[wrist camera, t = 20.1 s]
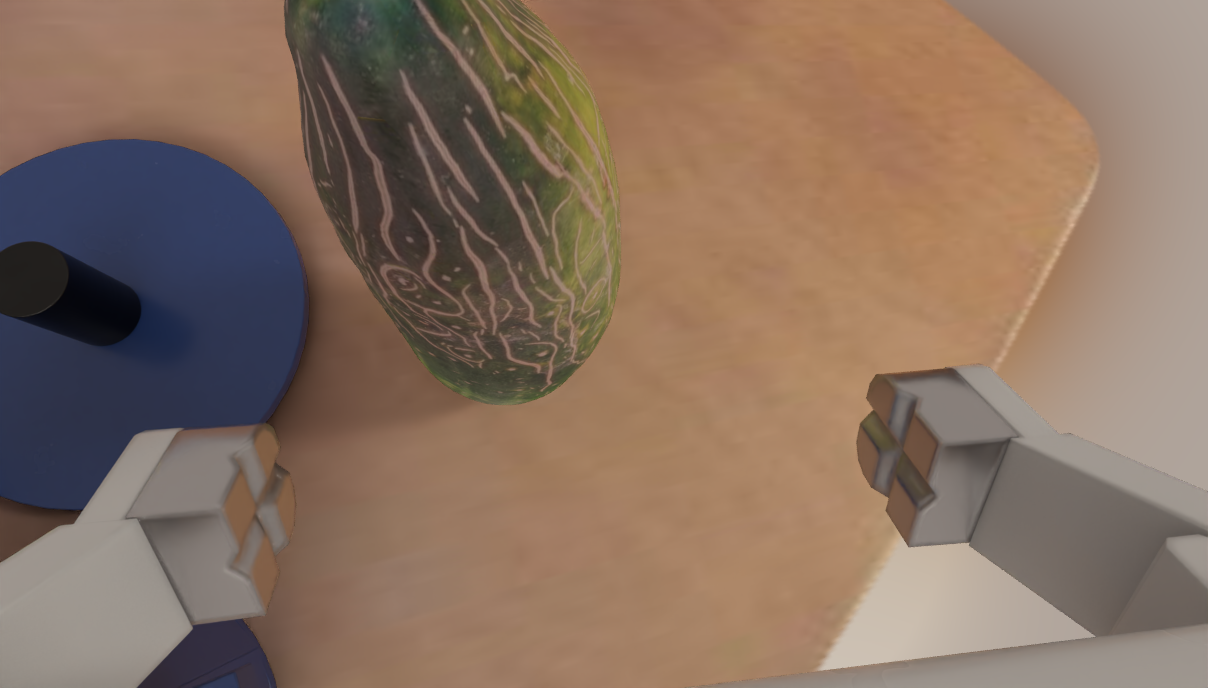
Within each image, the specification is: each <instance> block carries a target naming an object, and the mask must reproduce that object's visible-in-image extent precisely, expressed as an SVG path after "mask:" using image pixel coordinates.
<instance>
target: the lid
mask: <svg viewBox="0 0 1208 688" xmlns="http://www.w3.org/2000/svg"><path fill="white" fill-rule="evenodd" d="M308 322H309V292H308V284H307V275H306V272H305V268H304V264H303V260H302V257H301V253H300V251H299V249H298V246H297V244H296V242H295V239H294V237H293V235H292V233H291V231H290V230H289V228H288V226H287V225H286V223H285V222H284V220H283V218H282V217H281V215H280V214H279V213H278V212H277V210H276V209H275V208H274V207H273V206H272V204H271V203H270V202H269V201H268V199H267V198H266V197H265V196H264V195H263V194H262V193H261V192H260V191H259V190H258V189H257V188H256V187H254V186H253V185H252V184H251V183H250V182H249V181H248V180H247V179H246V178H244V177H243V176H241V175H240V174H238V173H237V172H235V171H234V170H233V169H231V168H230V167H228V166H227V165H225V164H223V163H221V162H219V161H217V160H215V159H213V158H211V157H209V156H207V155H205V154H202V153H199V152H196V151H193V150H190V149H188V148H185V147H181V146H177V145H172V144H167V143H163V142H157V141H147V140H137V139H121V140H103V141H95V142H87V143H82V144H78V145H74V146H69V147H65V148H61V149H58V150H55V151H52V152H49V153H47V154H44V155H41V156H38V157H35V158H33V159H31V160H29V161H27V162H25V163H23V164H21V165H19V166H17V167H14V168H12V169H10V170H9V171H7V172H6V173H4V174H2V175H1V176H0V496H1V497H4V498H6V499H9V500H12V501H15V502H18V503H21V504H26V505H31V506H36V507H41V508H46V509H59V510H74V511H78V510H83V509H84V508H85V506H86V505H87V504H88V502H89V501H90V499H91V498H92V496H93V495H94V493H95V492H96V490H97V489H98V488H99V486H100V485H101V483H102V482H103V480H104V479H105V477H106V476H107V474H108V473H109V472H110V470H111V469H112V467H113V466H114V464H115V463H116V461H117V460H118V458H119V457H120V455H121V454H122V453H123V451H124V450H125V448H126V447H127V445H128V444H129V442H130V441H131V439H132V438H133V437H134V436H135V435H136V434H139V433H141V432H143V431H145V430H157V429H170V428H186V427H198V426H215V425H232V424H249V423H265V422H267V420H268V419H269V418H270V417H271V415H272V414H273V413H274V411H275V410H276V408H277V406H278V405H279V403H280V402H281V400H282V398H283V397H284V395H285V394H286V392H287V390H288V388H289V386H290V383H291V381H292V379H293V377H294V375H295V373H296V370H297V368H298V365H299V362H300V358H301V355H302V352H303V349H304V345H305V340H306V334H307V328H308Z"/></svg>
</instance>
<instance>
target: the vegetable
mask: <svg viewBox="0 0 1208 688" xmlns="http://www.w3.org/2000/svg"><path fill="white" fill-rule="evenodd" d="M284 16H285V34H286V38H287V41H288V45H289V48H290V51H291V54H292V57H293V60H294V64H295V68H296V73H297V79H298V88H299V100H300V110H301V128H302V136H303V144H304V151H305V157H306V160H307V164H308V167H309V170H310V173H311V177H312V180H313V183H314V186H315V189H316V191H317V193H318V196H319V198H320V200H321V202H322V204H323V207H324V209H325V211H326V213H327V215H328V217H329V218H330V220H331V222H332V224H333V226H334V228H335V230H336V233H337V235H338V237H339V239H340V242H341V244H342V246H343V247H344V249H345V251H346V252H347V254H348V256H349V257H350V258H351V260H352V261H353V263H354V264H355V265H356V267H357V268H358V269H359V270H360V272H361V274H362V276H363V278H364V279H365V281H366V283H367V285H368V287H369V289H370V290H371V292H372V293H373V294H374V296H375V297H376V299H377V300H378V301H379V303H380V304H381V305H382V306H383V308H384V309H385V311H386V312H387V314H388V315H389V316H390V317H391V319H392V320H393V322H394V323H395V325H396V326H397V328H398V329H399V331H400V332H401V333H402V334H403V336H404V337H405V339H406V340H407V342H408V343H409V345H410V346H411V348H412V349H413V351H414V352H415V354H416V355H417V357H418V358H419V360H420V361H421V362H422V363H423V364H424V365H425V367H426V368H427V369H428V370H429V371H430V373H431V374H433V375H434V376H435V377H436V378H437V379H438V380H439V381H440V382H442V383H443V384H444V385H445V386H447V387H448V388H450V389H451V390H453V391H455V392H457V393H459V394H461V395H463V396H465V397H467V398H469V399H472V400H475V401H478V402H482V403H486V404H494V405H516V404H521V403H526V402H529V401H532V400H535V399H538V398H540V397H543V396H545V395H547V394H549V393H551V392H552V391H554V390H555V389H557V388H558V387H560V386H561V385H562V384H563V383H564V382H565V381H566V380H567V379H568V378H569V377H570V376H571V375H572V374H573V373H574V372H575V371H576V370H577V369H578V368H579V367H580V366H581V365H582V364H583V363H584V362H585V361H586V359H587V358H588V357H589V356H590V354H591V353H592V351H593V350H594V349H595V347H596V345H597V344H598V342H599V340H600V339H601V337H602V335H603V333H604V331H605V329H606V327H607V325H608V323H609V321H610V319H611V316H612V311H613V307H614V304H615V300H616V296H617V292H618V286H619V280H620V268H621V238H620V227H621V225H620V200H619V187H618V181H617V175H616V168H615V162H614V159H613V155H612V152H611V148H610V144H609V141H608V137H607V133H606V129H605V126H604V123H603V120H602V117H601V114H600V111H599V108H598V105H597V102H596V98H595V95H594V93H593V91H592V89H591V86H590V84H589V82H588V80H587V77H586V76H585V74H584V73H583V71H582V70H581V68H580V67H579V65H578V64H577V63H576V61H575V60H574V58H573V57H572V56H571V54H570V53H569V51H568V50H567V49H566V48H565V47H564V46H563V45H562V44H561V43H560V42H559V41H558V40H557V39H556V37H555V36H554V35H553V34H552V32H551V31H550V29H549V27H548V26H547V25H546V24H545V23H544V22H543V21H542V20H541V19H539V18H538V17H537V16H536V15H535V14H534V13H533V12H532V11H531V10H530V9H529V8H528V7H526V6H525V5H524V4H523V3H522V2H521V1H519V0H285V4H284Z"/></svg>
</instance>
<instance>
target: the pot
mask: <svg viewBox="0 0 1208 688" xmlns="http://www.w3.org/2000/svg"><path fill="white" fill-rule="evenodd" d="M192 627H193V629H192V630H191V631H190V633H189V634H188V635H187V636H186V637H185V638H184V639H183V640H182V641H181V642H180V643H179V644H178V645H177V646H176V647H175V648H174V649H173V650H172V651H171V652H170V653H169V654H168V655H167V656H166V658H165V659H164V660H163V661H162V662H161V663H160V664H159V665H158V666H157V667H156V668H155V669H154V670H153V671H152V672H151V673H150V674H149V675H148V676H147V677H146V678H145V679H144V680H143V681H142V683H141V684H140V685H139V686H138V687H137V688H277V687H276V682H275V679H274V676H273V674H272V671H271V668H270V666H269V663H268V660H267V658H266V656H265V654H264V652H263V650H262V648H261V647H260V645H259V643H258V641H257V639H256V637H255V636H254V634H253V633H252V632H251V630H250V629H249V628H248V626H247V625H246V624H245V622H244V621H243V620H242V619H235V620H227V621H220V622H212V623H205V624H197V625H192Z"/></svg>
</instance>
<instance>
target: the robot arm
mask: <svg viewBox="0 0 1208 688" xmlns="http://www.w3.org/2000/svg"><path fill="white" fill-rule="evenodd" d="M866 399H867V400H868V402H869V403H870V405H871V406H872V408H873V411H872V412H871V413H870V414H869V415H868V416H867V417H866V418H865V419H864V420H863V421H862V422H861V423H860V426H859V432H858V437H857V452H858V461H859V464H860V467H861V470H862V472H863V475H864V477H865V478H866V480H867V482H868V483H869V485H870V487H871V488H873V489H875V490H876V491H878V492H880V493H881V494H883V495H885V496H886V497H888V498H889V499H888V503H887V507H886V512H887V514H888V515H889V517H890V518H891V520H892V522H893V523H894V525H895V526H896V528H897V530H898V531H899V533H900V534H901V536H902V537H903V539H904V541H905V542H906V544H907V545H908V547H918V546H931V545H943V544H956V543H970V544H969V546H970V547H972V548H973V549H974V550H976V551H977V552H979V553H980V554H981V555H983V556H985V557H986V558H987V559H988V560H990V561H991V562H993V563H994V564H995V565H997V566H998V567H1000V568H1001V569H1002V570H1004V571H1005V572H1007V573H1008V574H1009V575H1011V576H1012V577H1014V578H1015V579H1016V580H1018V581H1019V582H1021V583H1022V584H1023V585H1025V586H1026V587H1028V588H1029V589H1030V590H1032V591H1033V592H1035V593H1036V594H1037V595H1039V596H1040V597H1042V598H1043V599H1044V600H1046V601H1047V602H1049V603H1050V604H1052V605H1053V606H1054V607H1056V608H1057V609H1058V610H1060V611H1061V612H1063V613H1064V614H1065V615H1067V616H1068V617H1069V618H1071V619H1072V620H1074V621H1075V622H1076V623H1078V624H1079V625H1081V626H1082V627H1084V628H1085V629H1086V630H1088V631H1089V632H1091V633H1092V634H1094V635H1095V636H1096V637H1093V638H1085V639H1076V640H1068V641H1059V642H1051V643H1044V644H1035V645H1027V646H1018V647H1010V648H1002V649H994V650H986V651H978V652H970V653H961V654H953V655H945V656H937V657H929V658H921V659H913V660H904V661H897V662H889V663H880V664H873V665H864V666H856V667H848V668H841V669H832V670H823V671H815V672H807V673H799V674H791V675H783V676H775V677H767V678H759V679H750V680H742V681H734V682H726V683H718V684H710V685H701V686H693V687H685V688H1208V491H1206V490H1203V489H1201V488H1199V487H1196V486H1194V485H1192V484H1189V483H1187V482H1185V481H1182V480H1180V479H1177V478H1175V477H1172V476H1170V475H1168V474H1166V473H1163V472H1161V471H1158V470H1156V469H1154V468H1151V467H1149V466H1147V465H1144V464H1142V463H1140V462H1137V461H1135V460H1132V459H1130V458H1128V457H1125V456H1123V455H1121V454H1118V453H1116V452H1114V451H1111V450H1109V449H1106V448H1104V447H1102V446H1099V445H1097V444H1095V443H1092V442H1090V441H1087V440H1085V439H1083V438H1080V437H1078V436H1076V435H1073V434H1071V433H1067V434H1059V433H1058V432H1057V431H1056V430H1054V429H1053V428H1052V427H1051V426H1050V425H1049V424H1048V423H1047V422H1046V421H1045V420H1044V419H1043V418H1042V417H1041V416H1040V415H1039V414H1038V413H1037V412H1036V411H1035V410H1034V409H1033V408H1032V407H1030V405H1028V404H1027V403H1026V402H1025V401H1024V400H1023V399H1022V398H1021V397H1020V396H1019V395H1018V394H1017V393H1016V392H1015V391H1014V390H1013V389H1012V388H1011V387H1010V386H1009V385H1008V384H1006V383H1005V382H1004V381H1003V380H1002V379H1001V378H1000V377H999V376H998V375H997V374H996V373H995V372H994V371H993V370H992V369H991V368H989V367H987V366H984V365H982V364H970V365H961V366H952V367H945V368H944V369H933V370H921V371H910V372H898V373H886V374H876V375H875V377H874V378H873V380H872V381H871V383H870V385H869V389H868V393H867V397H866ZM280 448H281V446H280V443H279V441H278V438H277V436H276V433H275V430H274V428H273V427H272V426H271V425H269V424H267V423H266V422H265V423H249V424H232V425H215V426H198V427H186V428H170V429H157V430H145V431H143V432H141V433H139V434H136V435H135V436H134V437H133V438H132V439H131V441H130V442H129V444H128V445H127V447H126V448H125V450H124V451H123V453H122V454H121V455H120V457H119V458H118V460H117V461H116V463H115V464H114V466H113V467H112V469H111V470H110V472H109V473H108V474H107V476H106V477H105V479H104V480H103V482H102V483H101V485H100V486H99V488H98V489H97V490H96V492H95V493H94V495H93V496H92V498H91V499H90V501H89V502H88V504H87V505H86V506H85V508H84V509H83V511H82V512H81V514H80V515H79V517H78V518H77V520H76V521H75V522H74V524H70V525H60V526H58V527H56V528H55V529H53V530H51V531H50V532H48V533H47V534H45V535H44V536H42V537H40V538H39V539H37V540H36V541H34V542H32V543H31V544H29V545H28V546H26V547H25V548H23V549H21V550H20V551H18V552H17V553H15V554H13V555H12V556H10V557H9V558H7V559H5V560H4V561H2V562H1V563H0V688H137V687H138V686H139V685H140V684H141V683H142V681H143V680H144V679H145V678H146V677H147V676H148V675H149V674H150V673H151V672H152V671H153V670H154V669H155V668H156V667H157V666H158V665H159V664H160V663H161V662H162V661H163V660H164V659H165V658H166V656H167V655H168V654H169V653H170V652H171V651H172V650H173V649H174V648H175V647H176V646H177V645H178V644H179V643H180V642H181V641H182V640H183V639H184V638H185V637H186V636H187V635H188V634H189V633H190V631H191V630H192V629H193V627H192V625H197V624H205V623H212V622H220V621H227V620H235V619H242V618H250V617H257V616H265V615H266V613H267V610H268V607H269V604H270V601H271V598H272V595H273V592H274V589H275V586H276V583H277V580H278V577H279V574H280V570H279V567H278V564H277V561H276V559H275V556H276V555H277V554H278V553H279V552H280V551H281V550H283V549H284V548H285V547H286V546H287V545H288V544H289V543H290V539H291V536H292V533H293V529H294V526H295V514H296V499H295V491H294V486H293V483H292V479H291V476H290V473H289V472H288V471H286V470H285V469H283V468H282V467H281V466H279V465H278V464H276V463H275V461H276V458H277V456H278V453H279V451H280Z"/></svg>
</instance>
